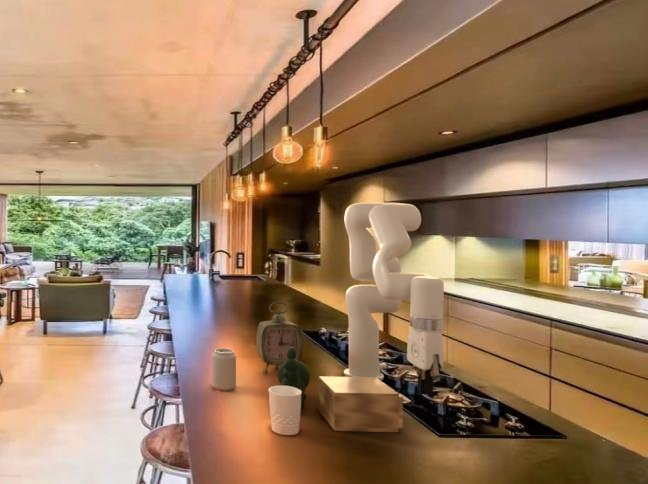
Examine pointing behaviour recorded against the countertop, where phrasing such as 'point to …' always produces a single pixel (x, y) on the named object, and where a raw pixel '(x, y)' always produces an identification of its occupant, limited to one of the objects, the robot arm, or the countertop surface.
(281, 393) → the white cup
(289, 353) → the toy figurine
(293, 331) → the tabletop clock
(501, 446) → the countertop surface
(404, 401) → the drawer
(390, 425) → the cabinet
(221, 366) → the can
